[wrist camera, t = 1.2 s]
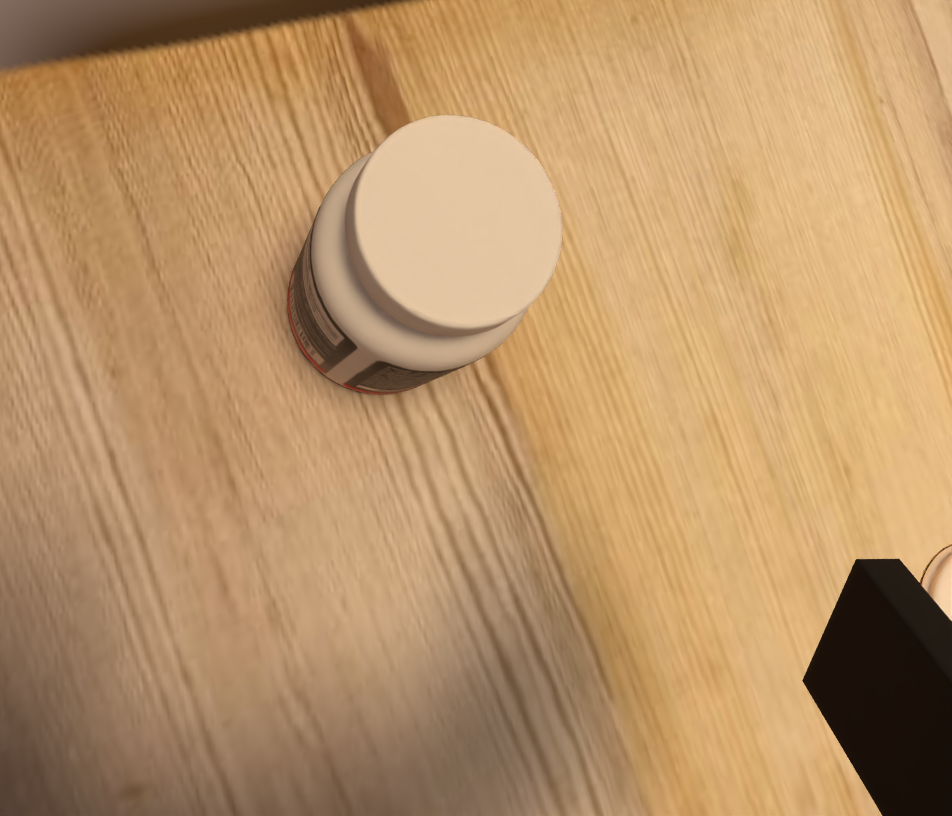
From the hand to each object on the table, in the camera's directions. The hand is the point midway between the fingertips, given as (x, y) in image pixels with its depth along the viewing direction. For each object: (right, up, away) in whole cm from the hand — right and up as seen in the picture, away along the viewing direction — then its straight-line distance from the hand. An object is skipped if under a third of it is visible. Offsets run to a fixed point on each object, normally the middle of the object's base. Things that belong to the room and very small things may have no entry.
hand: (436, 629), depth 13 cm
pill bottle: (-3, +6, +15) cm, 17 cm away
